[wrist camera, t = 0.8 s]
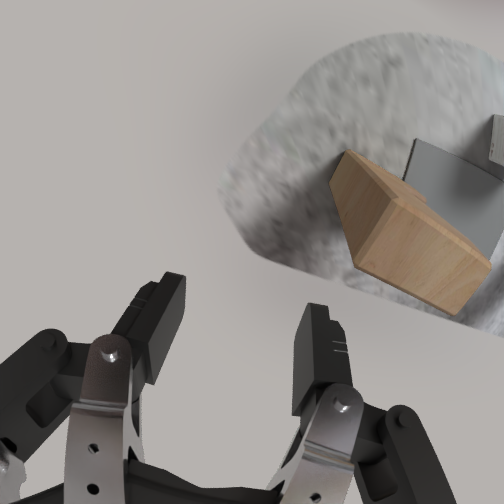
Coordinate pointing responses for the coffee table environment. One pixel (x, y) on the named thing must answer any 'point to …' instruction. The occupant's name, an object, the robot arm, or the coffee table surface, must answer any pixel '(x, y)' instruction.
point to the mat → (459, 194)
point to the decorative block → (404, 237)
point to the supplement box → (497, 140)
